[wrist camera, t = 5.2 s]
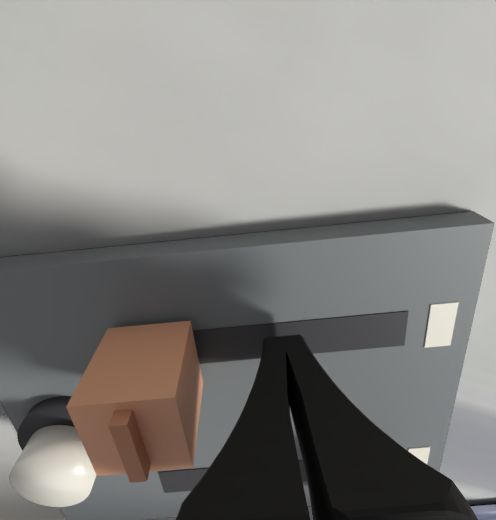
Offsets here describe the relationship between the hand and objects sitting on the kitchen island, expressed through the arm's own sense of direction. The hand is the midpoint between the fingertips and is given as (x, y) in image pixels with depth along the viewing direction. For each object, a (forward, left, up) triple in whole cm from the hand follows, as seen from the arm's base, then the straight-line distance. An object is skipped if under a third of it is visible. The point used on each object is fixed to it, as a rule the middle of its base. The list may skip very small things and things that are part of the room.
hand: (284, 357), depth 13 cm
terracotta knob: (0, +5, -1) cm, 5 cm away
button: (-4, +9, -1) cm, 10 cm away
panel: (-3, +2, -2) cm, 5 cm away
